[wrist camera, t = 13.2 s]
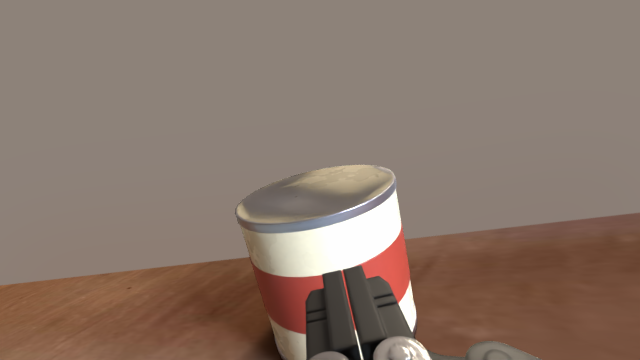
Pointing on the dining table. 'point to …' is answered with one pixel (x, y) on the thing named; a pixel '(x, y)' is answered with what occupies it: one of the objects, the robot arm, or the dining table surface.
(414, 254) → the dining table surface
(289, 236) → the coffee tin
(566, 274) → the dining table surface
